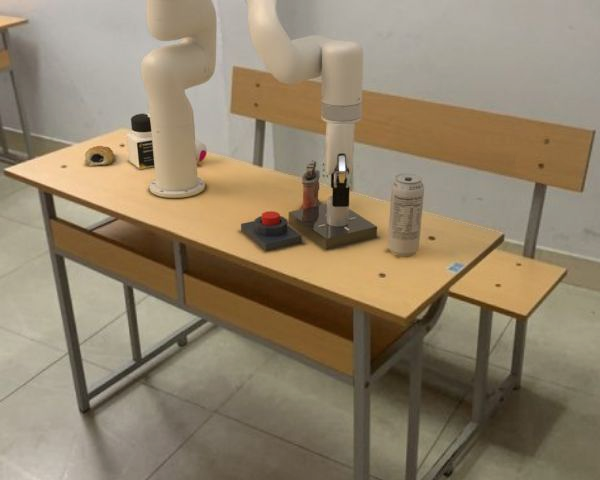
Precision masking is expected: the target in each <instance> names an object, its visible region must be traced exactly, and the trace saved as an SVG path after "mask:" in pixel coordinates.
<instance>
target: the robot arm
mask: <svg viewBox="0 0 600 480" xmlns="http://www.w3.org/2000/svg"><path fill="white" fill-rule="evenodd" d="M244 1H245V3H246V4H247V23H248V29H249V34H250V39H251V43H252V45H253V47H254V48H253V49H255V51H256V53H257V55H258V56H259V58H260V59H261V61H262V62H263V65H264V66H265V68H266V69H267V70H268V71H269V73H270V74H271V76H272V77H273V78H275V79H276V80H277V81H278V82H280V83H281V84H284V85H289V86H290V85H297V84H301V83H304V82H305V81H309V80H313V79H316V78H320V77H321V99H320V100H321V105H320V106H321V107H320V110H321V113H320V115H321V121H323V122H325V124H326V125H325V173H326V174H327V175H329V176H330V188H331V189H332V195H331V196H332V205H333V207H348V206H349V207H350V190H351V189H350V188H351V187H350V185H349V184H350V183H349V179H350V178H349V175H351V174H352V171H353V163H354V162H353V161H354V152H355V151H354V150H355V131H356V130H355V127H356V123H358V122H361V120H362V109H363V108H362V106H363V77H364V76H363V75H364V74H363V73H364V49H363V46H362V45H361V44H360V43H358V42H356V41H352V40H337V39H334V38H330V37H328V36H325V35H320V34H310V35H306V36H303V37H299V38H294V39H292V40H291V38H290V37H289V35H288V34H287V32H286V30H285V29H284V27H283V25H282V23H281V21H280V18H279V15H278V11H277V2H278V0H244ZM145 11H146V14H145V15H146V25H147V29H148V32H149V34H150V35H151V36H152V37H153V38H154V39H155V40H157V41H160V42H172V41H177V40H180V42H179V43H173V44H168V45H165V46H160V47H158V48H157V47H156V48H155V49H153V50H151V51H149V52H148V53H147V54H146V55H145V56H144V57H143V59H142V61H141V64H140V75H141V79H142V82H143V87H144V90H145V94H146V99H147V104H148V111H149V112H148V114H150V123H151V132H152V143H153V154H154V165H155V166H154V174H155V178H154V179H153V180H151V182H150V183H149V185H148V186H149V191H150V193H152V194H153V195H154V196H157V197H161V198H168V199H182V198H187V197H192V196H195V195H198V194H201V192H203V191H204V190H205V188H206V183H205V181H204V179H203V178H201V177H199V176H198V165H197V164H198V163H197V160H196V144H195V140H196V129H195V117H194V108H193V105H192V104H191V102H190V100H189V98H188V96H187V94H186V90H188V89H190V88H194V87H197V86H200V85H202V84H206V83H207V82H208V81H210V80H211V78H212V77H213V76H214V73H215V70H216V63H217V26H218V25H217V22H218V21H217V12H216V7H215V5H214V2H213V0H145Z"/></svg>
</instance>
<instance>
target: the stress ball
mask: <svg viewBox="0 0 600 480" xmlns="http://www.w3.org/2000/svg"><path fill="white" fill-rule="evenodd" d="M195 144H196V160H197V166H200V167H201V165H200V164H198V163H201V162H203V161H204V160H205V158H206V157H207V154H208V149H207V146H206V144H205V143H204V142H203V141H201V140H199V139H195Z"/></svg>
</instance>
